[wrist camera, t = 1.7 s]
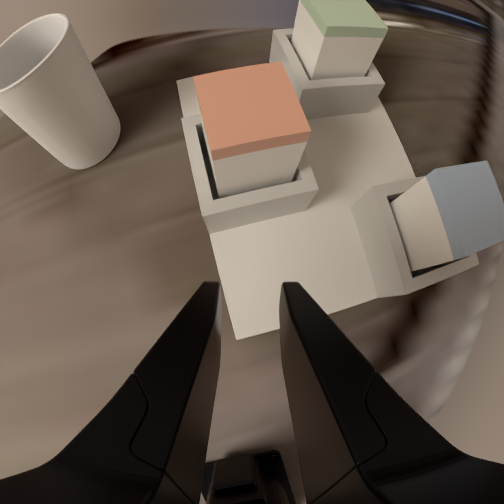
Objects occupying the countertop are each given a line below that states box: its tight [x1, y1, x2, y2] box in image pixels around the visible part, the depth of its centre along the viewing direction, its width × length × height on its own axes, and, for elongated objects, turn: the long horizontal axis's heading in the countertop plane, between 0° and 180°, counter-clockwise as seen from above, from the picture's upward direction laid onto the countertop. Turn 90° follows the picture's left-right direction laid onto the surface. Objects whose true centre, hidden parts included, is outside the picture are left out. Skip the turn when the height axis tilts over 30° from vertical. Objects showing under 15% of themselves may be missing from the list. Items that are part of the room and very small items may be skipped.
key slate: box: [389, 161, 504, 272], centre depth 16 cm, size 5×5×6 cm
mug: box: [0, 13, 120, 169], centre depth 18 cm, size 10×7×12 cm, turn 53°
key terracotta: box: [193, 62, 311, 199], centre depth 17 cm, size 5×5×6 cm
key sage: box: [291, 0, 388, 80], centre depth 19 cm, size 5×5×6 cm
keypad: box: [176, 28, 479, 340], centre depth 21 cm, size 22×18×4 cm
